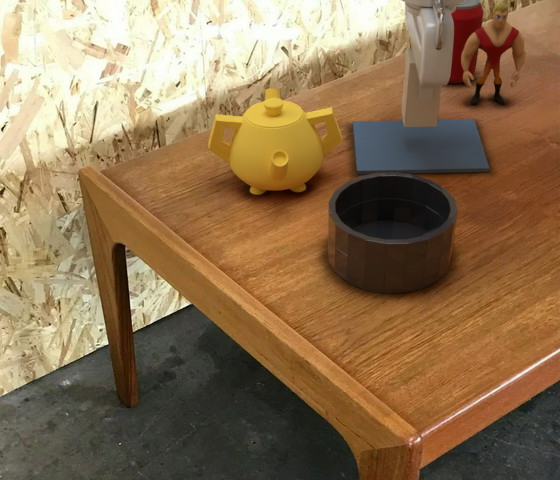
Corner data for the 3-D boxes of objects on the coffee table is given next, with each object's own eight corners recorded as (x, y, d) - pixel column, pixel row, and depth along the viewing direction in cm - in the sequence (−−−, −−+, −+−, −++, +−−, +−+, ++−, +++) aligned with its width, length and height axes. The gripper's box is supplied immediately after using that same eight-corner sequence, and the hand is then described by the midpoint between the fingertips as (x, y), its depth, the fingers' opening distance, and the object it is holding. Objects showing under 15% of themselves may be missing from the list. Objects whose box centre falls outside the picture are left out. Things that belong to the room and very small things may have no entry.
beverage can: (482, 75, 129) (494, -2, 121) (458, 89, 126) (468, 11, 117) (448, 63, 133) (456, -12, 124) (423, 77, 129) (431, 1, 121)
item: (433, 111, 112) (440, 47, 106) (436, 126, 109) (444, 62, 103) (401, 111, 112) (406, 48, 106) (403, 127, 109) (409, 63, 103)
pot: (442, 219, 101) (448, 171, 96) (457, 292, 90) (465, 242, 85) (327, 221, 101) (327, 173, 96) (329, 294, 91) (330, 244, 86)
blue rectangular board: (473, 122, 118) (474, 118, 118) (489, 172, 108) (489, 168, 108) (352, 125, 119) (352, 121, 119) (356, 174, 109) (357, 170, 109)
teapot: (350, 215, 102) (352, 135, 94) (211, 223, 102) (202, 144, 94) (333, 138, 116) (334, 63, 108) (212, 145, 116) (204, 71, 108)
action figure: (457, 107, 122) (470, 6, 111) (454, 96, 124) (467, -4, 114) (519, 106, 121) (538, 5, 110) (516, 95, 124) (534, -5, 113)
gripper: (471, 12, 90) (456, 125, 100) (448, -48, 105) (437, 55, 114) (415, 13, 90) (405, 125, 100) (400, -47, 105) (393, 56, 115)
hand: (422, 88), depth 107 cm, fingers closed on item, 4 cm apart
